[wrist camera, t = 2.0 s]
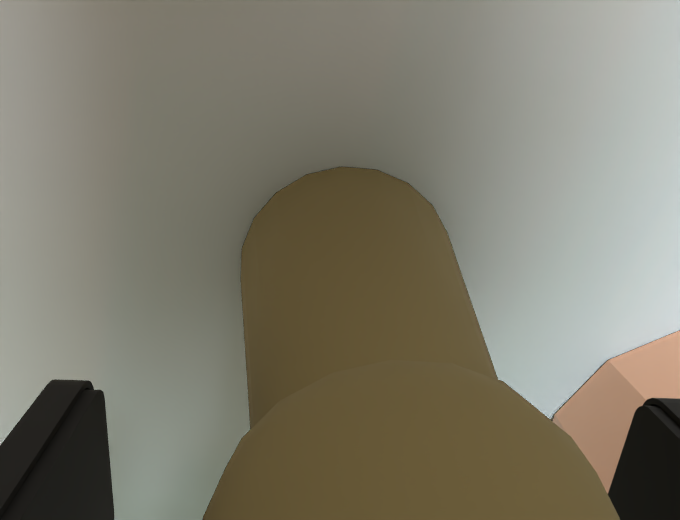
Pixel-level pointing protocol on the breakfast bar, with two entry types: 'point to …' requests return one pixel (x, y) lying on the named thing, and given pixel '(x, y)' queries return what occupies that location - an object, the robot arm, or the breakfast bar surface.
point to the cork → (381, 375)
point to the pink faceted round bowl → (619, 401)
